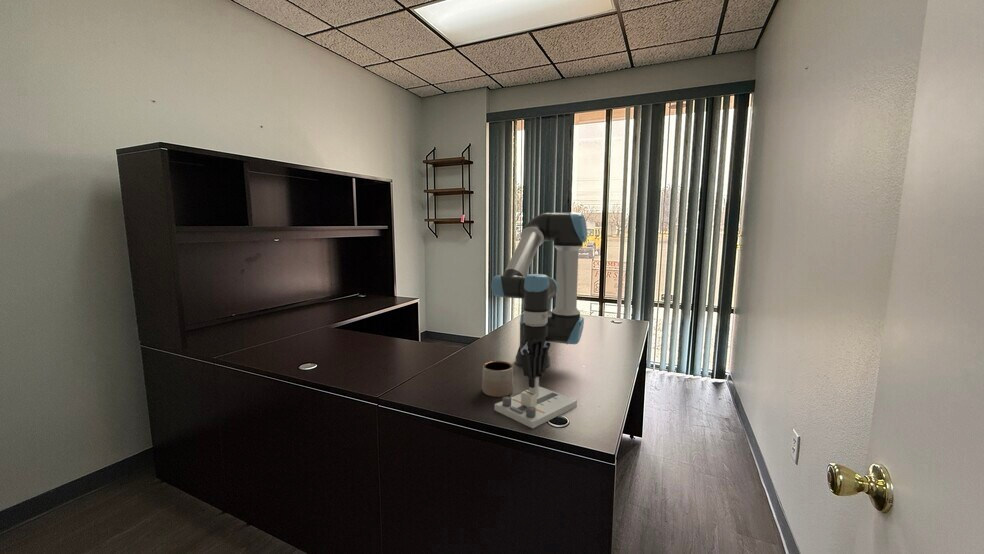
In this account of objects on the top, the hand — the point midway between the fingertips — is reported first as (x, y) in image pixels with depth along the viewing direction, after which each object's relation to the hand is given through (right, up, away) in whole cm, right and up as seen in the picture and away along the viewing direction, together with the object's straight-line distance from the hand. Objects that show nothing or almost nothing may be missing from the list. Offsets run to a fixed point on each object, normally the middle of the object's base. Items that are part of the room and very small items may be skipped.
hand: (533, 396), depth 125 cm
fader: (-2, -2, -1) cm, 3 cm away
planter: (-11, -3, +15) cm, 19 cm away
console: (+1, -4, +2) cm, 5 cm away
